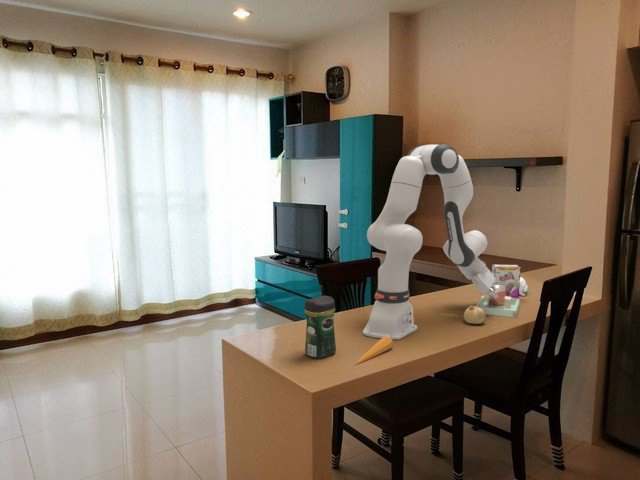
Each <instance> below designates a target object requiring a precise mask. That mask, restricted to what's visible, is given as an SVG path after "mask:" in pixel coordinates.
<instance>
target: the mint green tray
mask: <svg viewBox="0 0 640 480" xmlns="http://www.w3.org/2000/svg"><path fill="white" fill-rule="evenodd" d="M488 296H489V295H485V294H483V295H482V296H481V297H480V299H479V300H478V302H477V303H476V305H474V306H475V307H479V308H481V309H482V310H484V312H485V314H486V315H489V316H497V317H506V318H514V319H515V318H516V316H517V313H518V310H519V308H520V298H519V299H515V298H511V308H510V309H505V308H504V309H498V308H489V307H487V297H488Z"/></svg>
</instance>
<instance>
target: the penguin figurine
mask: <svg viewBox="0 0 640 480" xmlns="http://www.w3.org/2000/svg"><path fill="white" fill-rule="evenodd" d="M528 287H529V286H528V284H527V282H526V280H525V279H524V278H523V277H522V276H520V286H519V296H522V297H525V296H526V293H527V292H528Z"/></svg>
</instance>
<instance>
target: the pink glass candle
mask: <svg viewBox="0 0 640 480" xmlns="http://www.w3.org/2000/svg"><path fill="white" fill-rule="evenodd" d="M491 288H492V289H493V291H494V292H495V293H497V294H498V295H499V297H498V298H497V299H494V297H493V296H491V295H490V294H488V296H489V308H498V309H504V305H505V285H504V284H499V283H494V284H493V286H492V287H491Z"/></svg>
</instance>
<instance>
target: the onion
mask: <svg viewBox="0 0 640 480" xmlns="http://www.w3.org/2000/svg"><path fill="white" fill-rule="evenodd" d="M475 306H476V305H469V307H467V308H466V309H465V310H464V313H463V318H464V321H465V322H466V323H468V324H472V325H481V324H482V325H483V323H484V322H485V320H486V317H487V316H486V315H487V314H485V312H484V310H482V309H481V308H479V307H475Z"/></svg>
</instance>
